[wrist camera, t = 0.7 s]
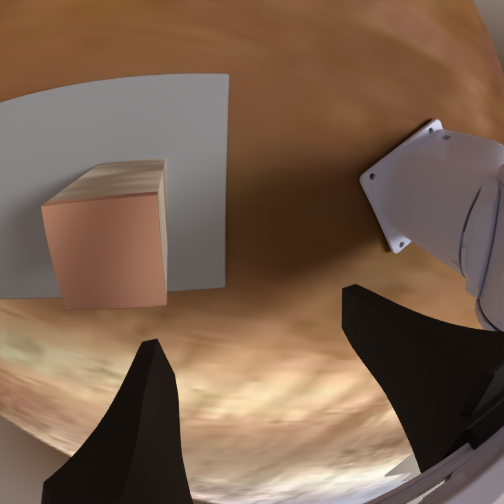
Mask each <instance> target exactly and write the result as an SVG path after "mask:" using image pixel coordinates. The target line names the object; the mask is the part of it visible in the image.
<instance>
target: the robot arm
mask: <svg viewBox="0 0 504 504" xmlns="http://www.w3.org/2000/svg"><path fill="white" fill-rule="evenodd" d="M429 128H430V132H429ZM371 174H372V178H371V179H370V175H371ZM360 184H361V186H362V188H363V190H364V192H365V194H366V196H367V198H368V200H369V202H370V204H371V206H372V209H373V211H374V213H375V215H376V217H377V219H378V221H379V224H380V226H381V228H382V230H383V233H384V235H385V237H386V239H387V242H388V244H389V246H390V249H391V251H392V252H394V253H398V252H400V251H401V250H402V249H403V248H404V247H405V246H406V245H408V244H409V243H410V242H411V241H412V242H414V243H415V244H417V245H418V246H420V247H421V248H423V249H424V250H426V251H427V252H429V253H430V254H432V255H433V256H435V257H436V258H438V259H439V260H440V261H442V262H443V263H445V264H446V265H448V266H449V267H450V268H452V269H453V270H455V271H456V272H458V273H459V274H460V275H462V276H463V277H464V278H466V288H465V290H466V291H467V292H468V293H469V294H471V295H472V296H473V297H475V298H476V299H477V300H476V304H475V312H476V316H477V319H478V321H479V323H480V325H481V326H482V328H483V329H484V330H481V329H474V328H468V327H464V326H459V325H455V324H451V323H447V322H444V321H440V320H437V319H434V318H431V317H428V316H425V315H423V314H420V313H418V312H415V311H413V310H410V309H408V308H406V307H403V306H401V305H399V304H397V303H395V302H393V301H390V300H388V299H386V298H384V297H382V296H380V295H378V294H376V293H374V292H372V291H370V290H368V289H366V288H364V287H362V286H359V285H357V284H354V285H351V286H348V287H345V288H342V329H343V331H344V333H345V335H346V337H347V339H348V341H349V342H350V344H351V346H352V348H353V349H354V350H355V352H356V353H357V355H358V356H359V357H360V359H361V360H362V362H363V363H364V364H365V366H366V367H367V368H368V370H369V371H370V372H371V374H372V375H373V376H374V378H375V379H376V381H377V382H378V383H379V385H380V386H381V388H382V389H383V391H384V392H385V394H386V396H387V398H388V399H389V401H390V403H391V405H392V407H393V409H394V410H395V412H396V414H397V416H398V418H399V420H400V422H401V424H402V427H403V429H404V431H405V433H406V435H407V438H408V440H409V442H410V445H411V447H412V450H413V452H414V455H415V458H416V460H417V463H418V466H419V469H420V472H421V474H420V475H418V476H417V477H415V478H413V479H412V480H410V481H408V482H406V483H404V484H402V485H401V486H399V487H397V488H395V489H393V490H391V491H389V492H387V493H385V494H383V495H381V496H379V497H377V498H375V499H373V500H371V501H369V502H366V503H364V504H406V503H408V502H410V501H412V500H413V499H415V498H417V497H419V496H420V495H422V494H424V493H425V492H427V491H428V490H430V489H431V488H433V487H435V486H436V485H438V484H439V483H440V482H442V481H444V480H445V479H446V480H445V482H444V484H442V485H441V486H439V487H438V488H437V489H435V490H434V491H432V492H431V493H429V494H428V495H426V496H425V497H424V498H423V499H422V500H421V501H420V502H419V503H418V504H494V503H495V502H496V501H497V500H498V499H499V498H500V497H501V496H502V495H503V494H504V146H503V145H501V144H500V143H498V142H496V141H493V140H490V139H486V138H482V137H478V136H474V135H469V134H465V133H460V132H456V131H451V130H446V129H443V128H442V125H441V122H440V121H439V120H438V119H433V120H432V121H430V122H429V123H428V124H427V125H425V126H424V127H423V128H421V129H420V130H419V131H417V132H416V133H415V134H414V135H412V136H411V137H410V138H408V139H407V140H406V141H404V142H403V143H402V144H401V145H399V146H398V147H397V148H395V149H394V150H393V151H392V152H390V153H389V154H388V155H386V156H385V157H384V158H382V159H381V160H380V161H379V162H377V163H376V164H375V165H373V166H372V167H371V168H369V169H368V170H367V171H365V172H364V173H363V174H362V175H361V176H360ZM400 243H401V244H400ZM41 504H193V501H192V498H191V494H190V490H189V486H188V481H187V477H186V473H185V468H184V463H183V458H182V450H181V437H180V418H179V397H178V391H177V385H176V379H175V374H174V372H173V370H172V368H171V366H170V364H169V362H168V360H167V358H166V356H165V354H164V352H163V349H162V347H161V345H160V343H159V341H158V339H153V340H149V341H144V342H142V343H141V345H140V347H139V349H138V351H137V354H136V356H135V358H134V360H133V362H132V364H131V367H130V369H129V371H128V373H127V375H126V377H125V379H124V381H123V383H122V385H121V387H120V389H119V391H118V393H117V395H116V396H115V398H114V400H113V402H112V404H111V405H110V407H109V409H108V410H107V412H106V414H105V415H104V417H103V418H102V420H101V421H100V423H99V424H98V426H97V427H96V429H95V430H94V431H93V432H92V434H91V435H90V436H89V437H88V439H87V440H86V441H85V442H84V444H83V445H82V446H81V447H80V448H79V450H78V451H77V452H76V453H75V454H74V455H73V456H72V457H71V458H70V459H69V460H68V461H67V462H66V463H65V464H64V465H63V466H62V467H61V468H60V469H59V470H58V471H56V472H55V473H54V474H53V475H52V476H51V477H49V478H48V479H47V480H46V481H45V482H44V484H43V491H42V502H41Z"/></svg>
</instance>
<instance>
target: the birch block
mask: <svg viewBox="0 0 504 504" xmlns="http://www.w3.org/2000/svg"><path fill="white" fill-rule="evenodd" d="M41 209H42V215H43V221H44V226H45V232H46V237H47V242H48V246H49V251H50V255H51V260H52V264H53V268H54V272H55V276H56V280H57V283H58V287H59V290H60V294H61V297H62V301H63V304H64V307H65V310H91V309H114V308H133V307H150V306H165V305H167V251H168V223H169V222H168V203H167V178H166V158H157V159H143V160H130V161H119V162H109V163H100V164H99V165H97V166H96V167H94V168H93V169H91V170H90V171H88V172H87V173H86V174H84V175H83V176H81V177H80V178H78V179H77V180H76V181H74V182H73V183H71V184H70V185H69V186H67V187H66V188H65V189H63V190H62V191H60V192H59V193H58V194H56V195H55V196H54V197H53V198H51V199H50V200H49V201H47V202H46V203H45V204H44V205H42V206H41Z"/></svg>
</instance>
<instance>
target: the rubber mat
mask: <svg viewBox="0 0 504 504" xmlns="http://www.w3.org/2000/svg"><path fill="white" fill-rule="evenodd" d="M228 87H229V74H167V75H150V76H137V77H126V78H117V79H109V80H101V81H94V82H88V83H82V84H76V85H71V86H65V87H60V88H55V89H51V90H46V91H42V92H38V93H34V94H30V95H26V96H22V97H18V98H15V99H11V100H8V101H5V102H1V103H0V299H28V298H59V297H61V294H60V290H59V287H58V283H57V280H56V276H55V272H54V268H53V264H52V260H51V255H50V251H49V246H48V242H47V237H46V232H45V226H44V221H43V215H42V209H41V206H42V205H44V204H45V203H46V202H47V201H49V200H50V199H51V198H53V197H54V196H55V195H56V194H58V193H59V192H60V191H62V190H63V189H65V188H66V187H67V186H69V185H70V184H71V183H73V182H74V181H76V180H77V179H78V178H80V177H81V176H83V175H84V174H86V173H87V172H88V171H90V170H91V169H93V168H94V167H96V166H97V165H99V164H100V163H109V162H119V161H130V160H143V159H157V158H166V178H167V203H168V222H169V223H168V251H167V292H170V291H184V290H198V289H210V288H223V287H225V215H226V153H227V116H228Z"/></svg>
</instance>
